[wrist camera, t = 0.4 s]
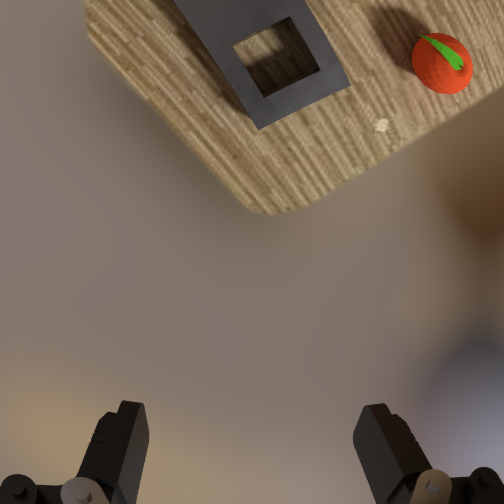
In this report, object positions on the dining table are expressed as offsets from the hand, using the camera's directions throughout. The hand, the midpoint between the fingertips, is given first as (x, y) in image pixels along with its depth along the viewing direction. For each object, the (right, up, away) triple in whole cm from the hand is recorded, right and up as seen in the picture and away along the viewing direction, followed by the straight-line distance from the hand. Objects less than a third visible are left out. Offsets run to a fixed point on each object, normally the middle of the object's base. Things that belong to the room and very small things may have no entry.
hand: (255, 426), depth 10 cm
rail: (-1, +30, +15) cm, 34 cm away
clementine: (+19, +28, +17) cm, 38 cm away
